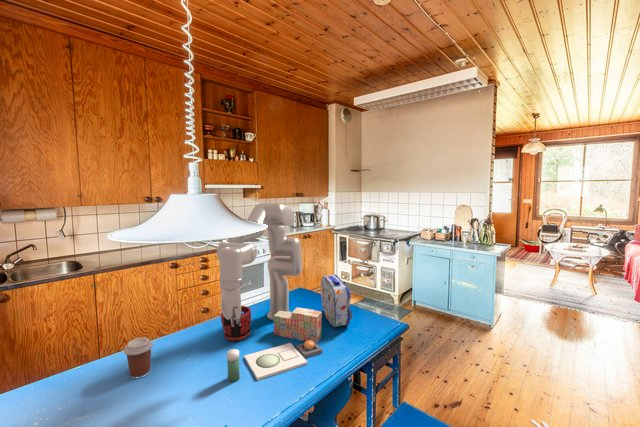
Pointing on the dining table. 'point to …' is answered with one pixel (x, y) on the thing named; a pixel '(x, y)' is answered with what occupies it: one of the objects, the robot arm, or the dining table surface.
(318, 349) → the button housing
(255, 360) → the activity sheet
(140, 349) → the coffee cup
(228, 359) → the marker
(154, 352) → the dining table surface
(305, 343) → the button
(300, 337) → the stack of blocks
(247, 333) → the plant pot
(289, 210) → the robot arm
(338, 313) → the lunch box
